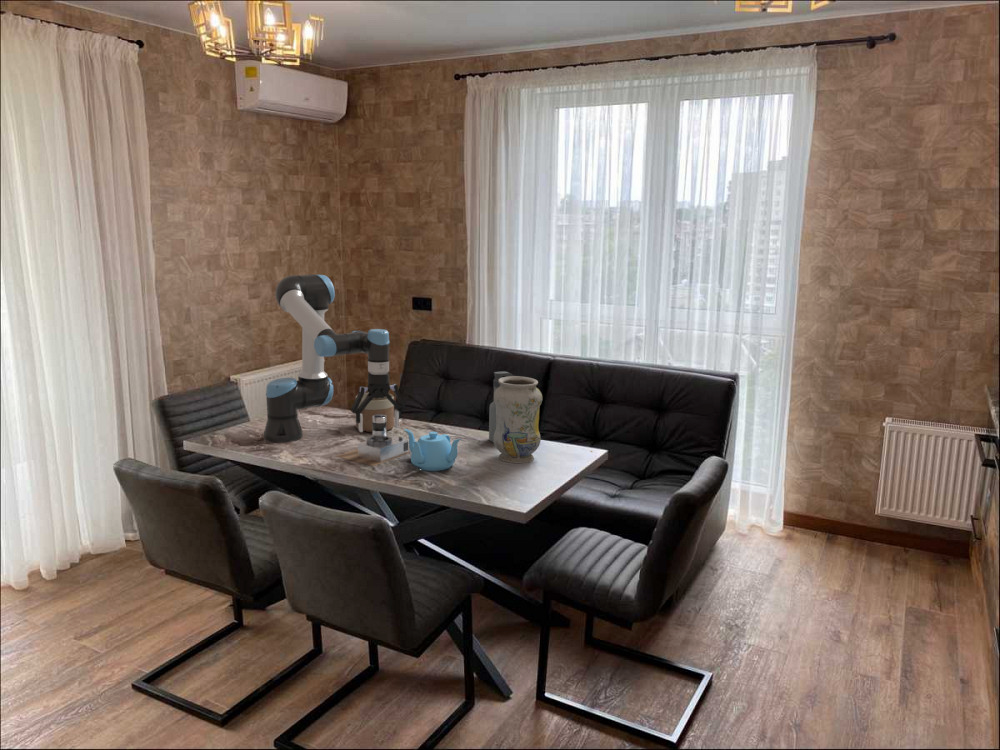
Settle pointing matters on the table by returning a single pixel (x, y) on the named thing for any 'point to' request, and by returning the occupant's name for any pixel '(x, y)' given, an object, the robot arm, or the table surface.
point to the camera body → (383, 448)
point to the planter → (377, 412)
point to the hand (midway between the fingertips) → (378, 429)
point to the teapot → (432, 451)
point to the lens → (379, 427)
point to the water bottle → (493, 406)
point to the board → (354, 457)
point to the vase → (517, 418)
